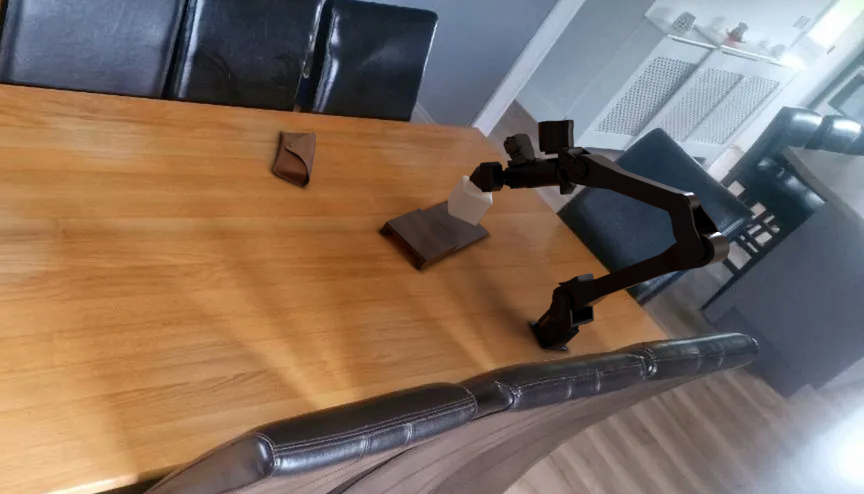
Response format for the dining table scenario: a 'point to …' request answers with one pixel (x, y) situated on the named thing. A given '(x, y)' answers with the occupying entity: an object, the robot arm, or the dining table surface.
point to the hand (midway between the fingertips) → (479, 177)
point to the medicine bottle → (469, 200)
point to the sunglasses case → (295, 157)
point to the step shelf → (433, 233)
